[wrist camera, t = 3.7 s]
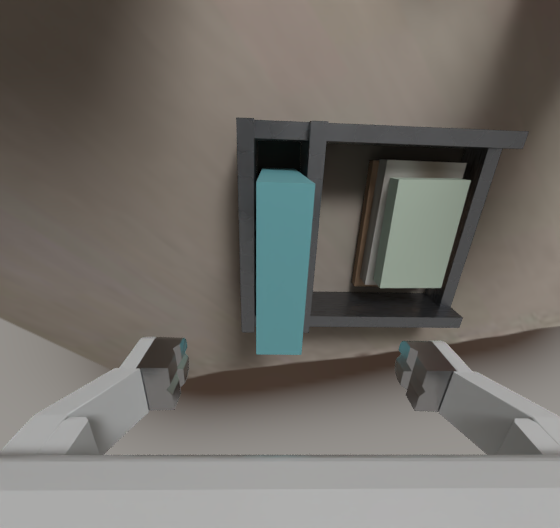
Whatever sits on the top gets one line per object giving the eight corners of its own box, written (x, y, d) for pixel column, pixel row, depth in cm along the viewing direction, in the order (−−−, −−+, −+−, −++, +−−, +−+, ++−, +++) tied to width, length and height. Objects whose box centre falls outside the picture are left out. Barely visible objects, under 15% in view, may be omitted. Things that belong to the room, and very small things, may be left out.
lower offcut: (349, 279, 31) (354, 286, 30) (367, 159, 26) (373, 160, 25) (416, 280, 32) (424, 287, 30) (446, 162, 27) (458, 162, 25)
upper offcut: (373, 279, 27) (379, 288, 26) (390, 177, 24) (398, 179, 22) (430, 279, 28) (441, 287, 26) (456, 178, 24) (470, 180, 22)
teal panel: (261, 272, 30) (256, 354, 18) (262, 167, 25) (256, 181, 13) (288, 272, 30) (301, 354, 18) (294, 168, 26) (315, 183, 14)
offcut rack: (246, 299, 31) (241, 332, 25) (244, 125, 24) (236, 117, 18) (432, 302, 32) (465, 333, 26) (480, 135, 25) (541, 130, 19)
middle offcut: (359, 277, 29) (364, 284, 28) (379, 159, 25) (387, 159, 23) (422, 278, 30) (431, 286, 28) (453, 162, 25) (466, 163, 23)
